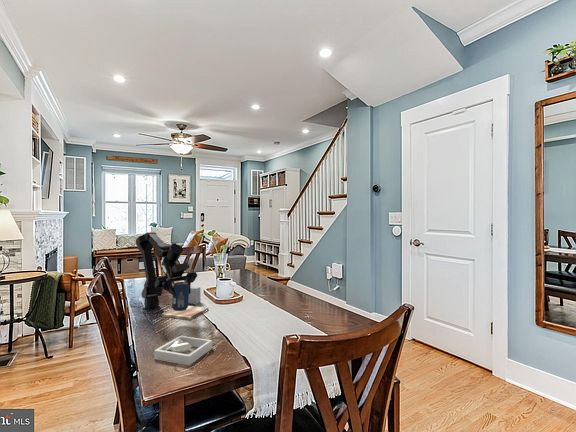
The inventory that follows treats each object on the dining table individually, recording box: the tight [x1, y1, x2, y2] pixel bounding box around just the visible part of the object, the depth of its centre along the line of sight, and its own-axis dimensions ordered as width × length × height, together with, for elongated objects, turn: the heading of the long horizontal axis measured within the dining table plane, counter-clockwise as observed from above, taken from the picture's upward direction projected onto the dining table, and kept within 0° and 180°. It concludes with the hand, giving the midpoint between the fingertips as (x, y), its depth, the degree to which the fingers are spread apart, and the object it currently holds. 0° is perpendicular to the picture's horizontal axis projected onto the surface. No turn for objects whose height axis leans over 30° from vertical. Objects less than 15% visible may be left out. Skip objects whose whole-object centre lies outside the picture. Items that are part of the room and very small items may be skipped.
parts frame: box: [153, 335, 213, 366], centre depth 113 cm, size 14×14×3 cm
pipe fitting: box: [165, 339, 192, 354], centre depth 113 cm, size 8×4×7 cm
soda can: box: [171, 281, 189, 311], centre depth 144 cm, size 7×7×12 cm
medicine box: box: [188, 286, 202, 305], centre depth 177 cm, size 8×4×9 cm, turn 74°
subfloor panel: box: [161, 305, 209, 321], centre depth 159 cm, size 16×16×1 cm
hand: (182, 294), depth 143 cm, fingers closed on soda can, 7 cm apart
